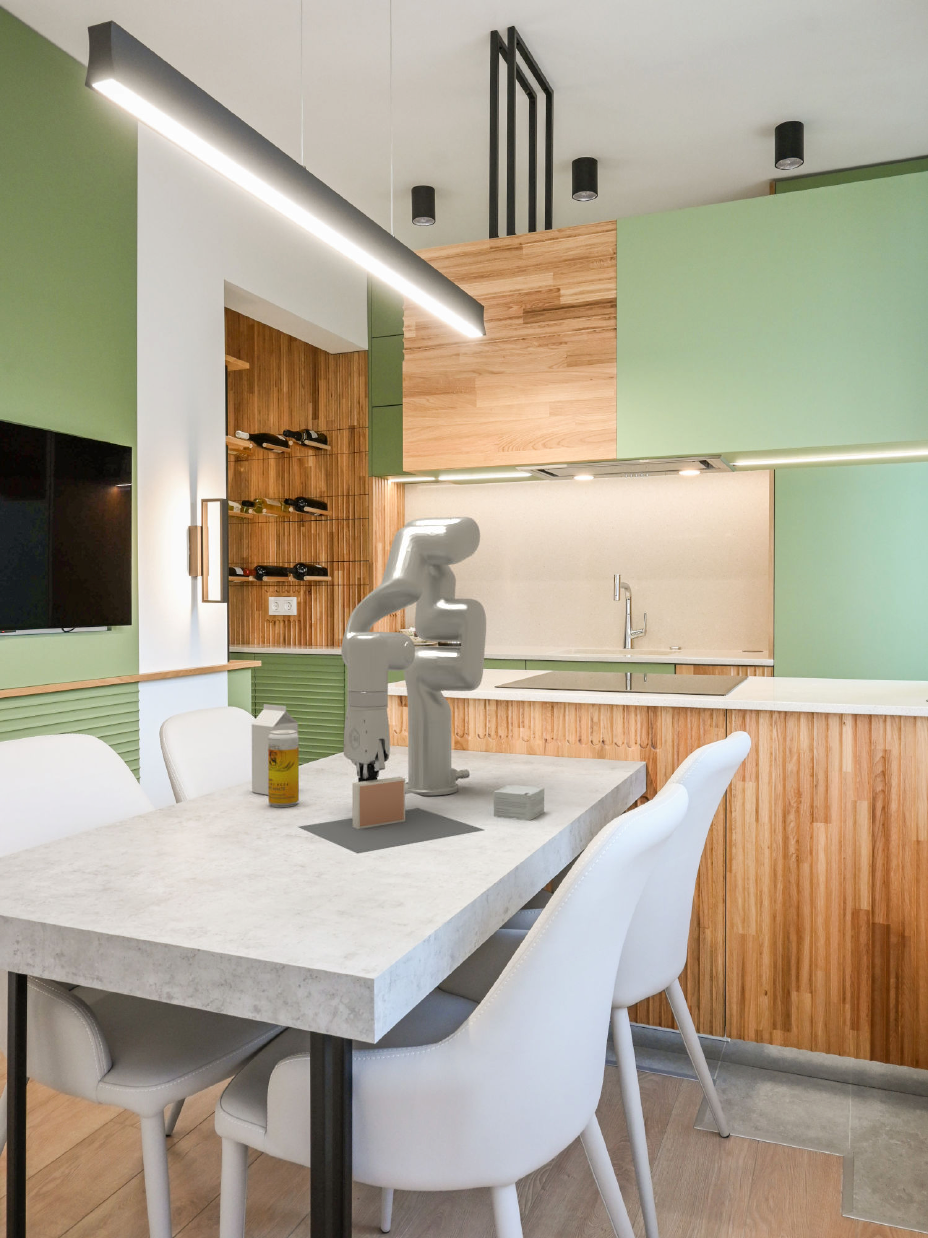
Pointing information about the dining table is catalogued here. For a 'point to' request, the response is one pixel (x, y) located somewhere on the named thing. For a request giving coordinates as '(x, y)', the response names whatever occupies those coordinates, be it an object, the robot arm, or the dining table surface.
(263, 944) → the dining table surface
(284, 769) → the beer can
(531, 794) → the small box
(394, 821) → the tile
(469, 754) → the dining table surface
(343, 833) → the mat
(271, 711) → the milk carton
